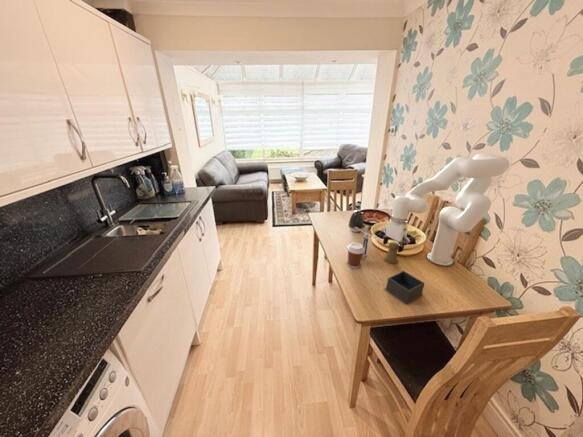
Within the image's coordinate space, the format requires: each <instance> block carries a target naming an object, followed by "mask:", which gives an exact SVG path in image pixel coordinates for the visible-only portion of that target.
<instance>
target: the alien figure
mask: <svg viewBox="0 0 583 437" xmlns="http://www.w3.org/2000/svg"><path fill="white" fill-rule="evenodd" d="M356 228H357V227H355V229H356ZM363 228H364V230H363V229H362V230H360V229H359V228H358V230H360V231H359V232H361V233H363V243H362V246H363V247H364V249H365V250H364V252H363V254H362V259H364V258H365V257H367V253H368V242H369V237H371V238H373V239H375V240H377V241H379V242H380V239H379V238H378V237H376V236H374V235H372V234H370V233H368V232H369V229H370V226H369V225H365V226H364V227H363Z"/></svg>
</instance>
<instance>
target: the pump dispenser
mask: <svg viewBox="0 0 583 437" xmlns="http://www.w3.org/2000/svg"><path fill="white" fill-rule="evenodd" d="M364 214H366V212H365V211H363V212H361V211H360V210H354V211H353V212H352V214H351V216H350V217H349V219H348V220H349V221H348V228H349V230H350V231H351V232H353V233H359V232H361V231H360V230H362V231H363V228H364V218H363V215H364ZM355 227H357V228H356V229H355ZM358 228H359V229H360V230H358Z"/></svg>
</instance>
